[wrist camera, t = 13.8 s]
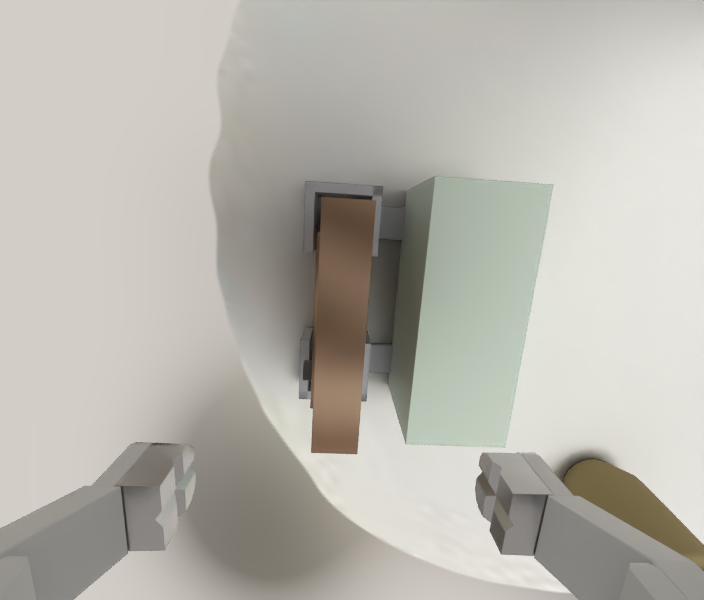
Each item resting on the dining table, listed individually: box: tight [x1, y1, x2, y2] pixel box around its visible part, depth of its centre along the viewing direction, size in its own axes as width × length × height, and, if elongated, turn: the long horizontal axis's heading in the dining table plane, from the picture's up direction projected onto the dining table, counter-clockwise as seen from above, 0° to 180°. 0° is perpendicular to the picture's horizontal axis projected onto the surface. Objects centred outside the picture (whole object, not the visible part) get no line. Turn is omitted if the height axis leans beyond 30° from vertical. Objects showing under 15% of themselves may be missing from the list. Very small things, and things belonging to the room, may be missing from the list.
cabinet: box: [299, 176, 553, 448], centre depth 29 cm, size 17×20×10 cm
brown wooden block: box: [303, 197, 376, 454], centre depth 27 cm, size 16×4×14 cm, turn 176°
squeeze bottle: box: [563, 459, 704, 571], centre depth 31 cm, size 8×8×18 cm
